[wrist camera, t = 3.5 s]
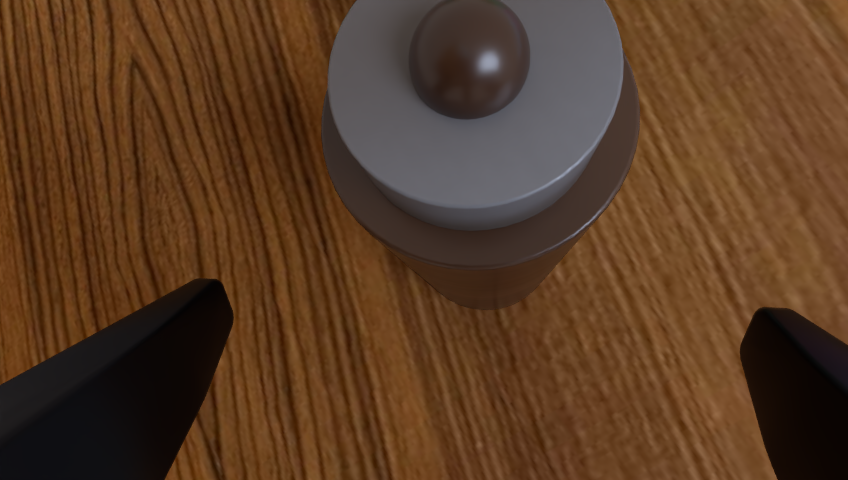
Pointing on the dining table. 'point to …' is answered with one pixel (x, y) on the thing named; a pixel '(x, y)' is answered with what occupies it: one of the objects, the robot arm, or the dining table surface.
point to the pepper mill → (479, 134)
